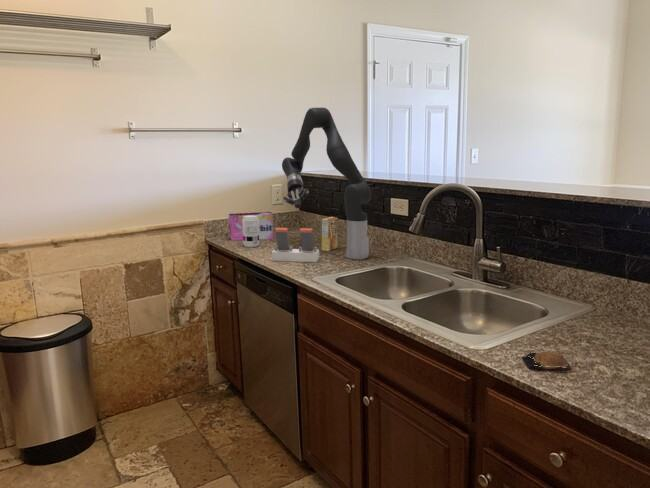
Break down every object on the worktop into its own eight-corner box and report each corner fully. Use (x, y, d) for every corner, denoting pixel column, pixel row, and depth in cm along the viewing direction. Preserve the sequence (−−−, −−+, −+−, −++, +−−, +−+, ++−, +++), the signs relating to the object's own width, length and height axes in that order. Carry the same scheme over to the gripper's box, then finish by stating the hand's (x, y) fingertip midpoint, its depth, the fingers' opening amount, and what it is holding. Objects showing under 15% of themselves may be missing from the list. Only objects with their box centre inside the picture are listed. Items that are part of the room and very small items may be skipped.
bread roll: (562, 359, 123) (563, 345, 122) (577, 375, 115) (579, 360, 114) (518, 358, 123) (519, 344, 123) (530, 374, 115) (531, 359, 114)
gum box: (229, 241, 261) (228, 215, 258) (227, 238, 269) (226, 213, 266) (274, 238, 268) (273, 213, 265) (271, 235, 275) (270, 211, 273)
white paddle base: (319, 258, 223) (319, 245, 222) (316, 262, 217) (316, 249, 215) (275, 257, 226) (275, 244, 225) (272, 260, 219) (271, 247, 218)
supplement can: (239, 246, 248) (238, 216, 245) (249, 243, 255) (248, 214, 252) (253, 248, 245) (252, 218, 241) (262, 245, 252) (261, 215, 249)
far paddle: (289, 249, 222) (287, 227, 216) (289, 250, 221) (286, 229, 215) (278, 248, 223) (275, 227, 217) (277, 250, 221) (275, 229, 215)
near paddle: (314, 249, 220) (312, 228, 215) (313, 251, 219) (311, 230, 213) (302, 249, 221) (300, 228, 215) (301, 251, 220) (300, 230, 214)
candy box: (330, 247, 247) (330, 216, 244) (337, 247, 245) (337, 217, 242) (321, 250, 239) (321, 219, 236) (328, 251, 237) (328, 219, 234)
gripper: (279, 183, 239) (281, 206, 226) (304, 173, 236) (307, 195, 224) (285, 195, 243) (288, 217, 231) (310, 185, 241) (314, 207, 229)
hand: (297, 206), depth 227 cm, fingers closed
